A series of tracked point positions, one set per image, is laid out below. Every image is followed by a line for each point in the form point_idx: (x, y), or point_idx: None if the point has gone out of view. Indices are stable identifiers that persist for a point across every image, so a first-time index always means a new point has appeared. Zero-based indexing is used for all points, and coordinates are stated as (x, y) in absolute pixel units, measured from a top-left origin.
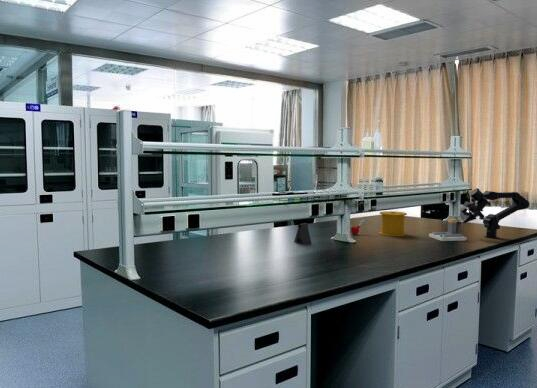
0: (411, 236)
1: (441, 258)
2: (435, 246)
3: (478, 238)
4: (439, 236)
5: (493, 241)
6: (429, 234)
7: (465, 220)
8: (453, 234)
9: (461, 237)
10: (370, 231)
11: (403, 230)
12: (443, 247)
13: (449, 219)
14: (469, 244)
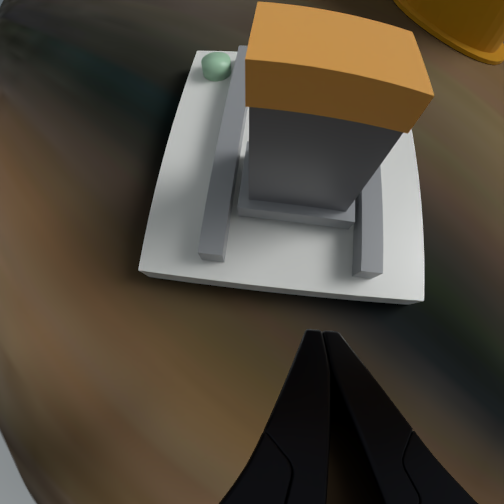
0: None
1: (4, 4)
2: (102, 6)
3: (222, 487)
4: None
5: (66, 480)
6: None
7: (286, 380)
8: (217, 145)
9: (152, 209)
10: None
11: (438, 9)
12: (68, 25)
13: (356, 23)
14: (29, 180)
